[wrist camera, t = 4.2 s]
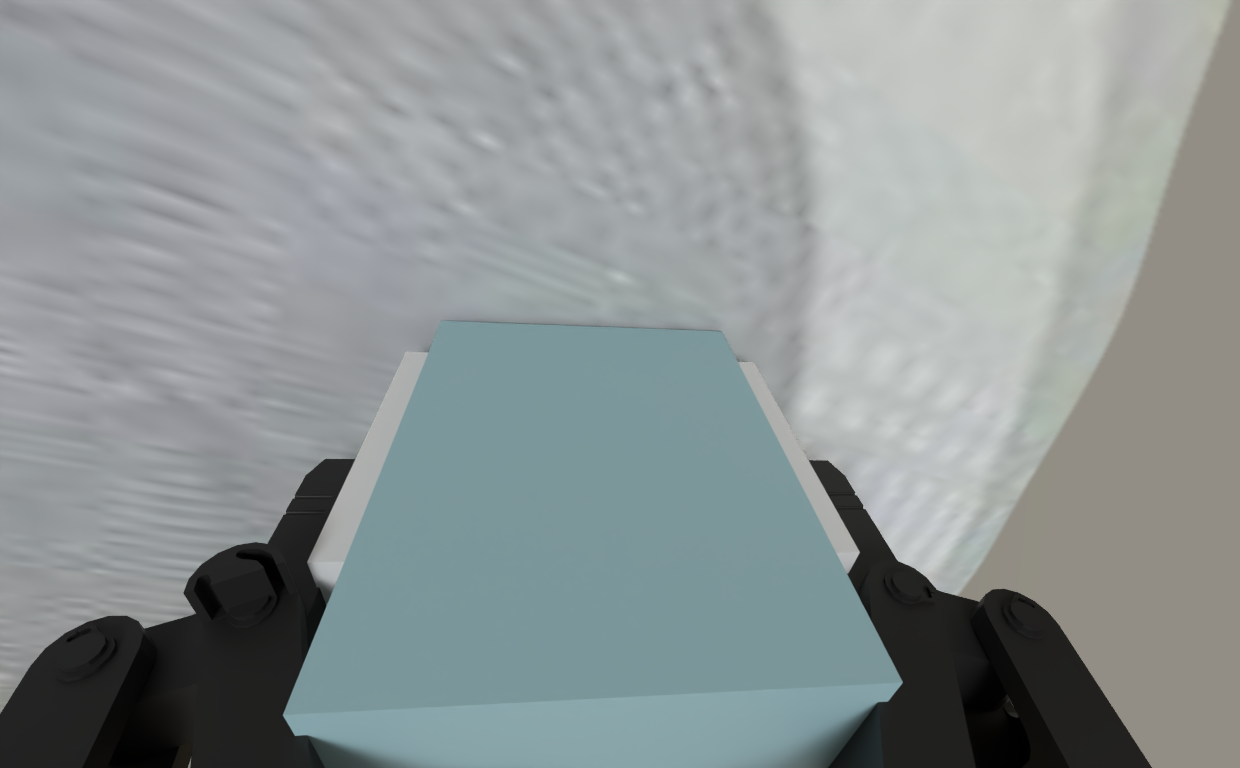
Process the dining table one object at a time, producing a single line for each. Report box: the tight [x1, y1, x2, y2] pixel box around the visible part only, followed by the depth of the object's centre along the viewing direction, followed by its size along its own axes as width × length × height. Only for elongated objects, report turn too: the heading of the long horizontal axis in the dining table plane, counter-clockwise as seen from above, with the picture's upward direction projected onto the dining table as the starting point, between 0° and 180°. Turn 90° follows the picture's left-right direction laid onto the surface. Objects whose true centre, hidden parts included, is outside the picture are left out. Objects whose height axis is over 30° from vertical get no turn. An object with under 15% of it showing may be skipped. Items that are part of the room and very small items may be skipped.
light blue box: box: [283, 321, 903, 768], centre depth 12 cm, size 8×4×10 cm, turn 85°
